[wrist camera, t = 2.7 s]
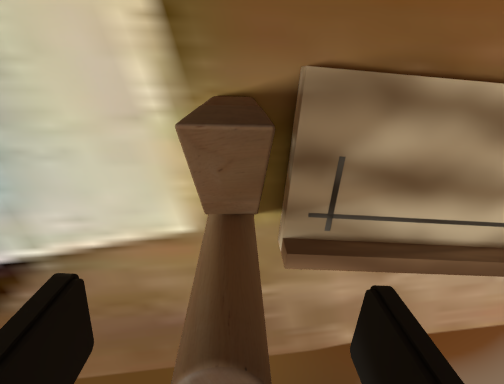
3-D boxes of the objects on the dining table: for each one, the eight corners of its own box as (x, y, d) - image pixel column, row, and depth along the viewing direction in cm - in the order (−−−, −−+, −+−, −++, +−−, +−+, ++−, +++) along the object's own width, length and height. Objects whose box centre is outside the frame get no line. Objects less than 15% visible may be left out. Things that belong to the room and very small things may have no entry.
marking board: (301, 66, 22) (315, 64, 18) (620, 95, 24) (699, 99, 20) (277, 240, 28) (284, 268, 24) (534, 251, 30) (581, 279, 26)
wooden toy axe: (254, 96, 23) (298, 150, 6) (251, 214, 27) (273, 435, 10) (209, 95, 23) (129, 148, 6) (213, 214, 27) (172, 439, 10)
